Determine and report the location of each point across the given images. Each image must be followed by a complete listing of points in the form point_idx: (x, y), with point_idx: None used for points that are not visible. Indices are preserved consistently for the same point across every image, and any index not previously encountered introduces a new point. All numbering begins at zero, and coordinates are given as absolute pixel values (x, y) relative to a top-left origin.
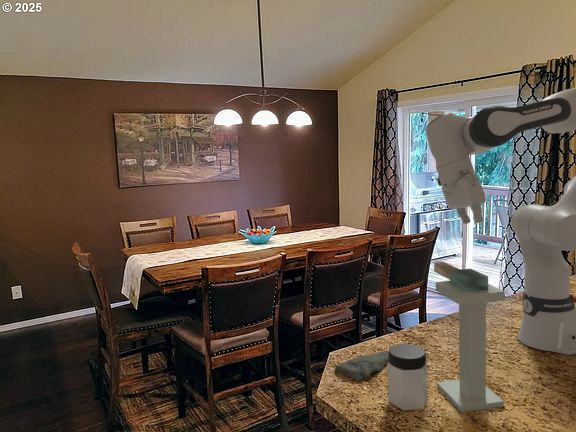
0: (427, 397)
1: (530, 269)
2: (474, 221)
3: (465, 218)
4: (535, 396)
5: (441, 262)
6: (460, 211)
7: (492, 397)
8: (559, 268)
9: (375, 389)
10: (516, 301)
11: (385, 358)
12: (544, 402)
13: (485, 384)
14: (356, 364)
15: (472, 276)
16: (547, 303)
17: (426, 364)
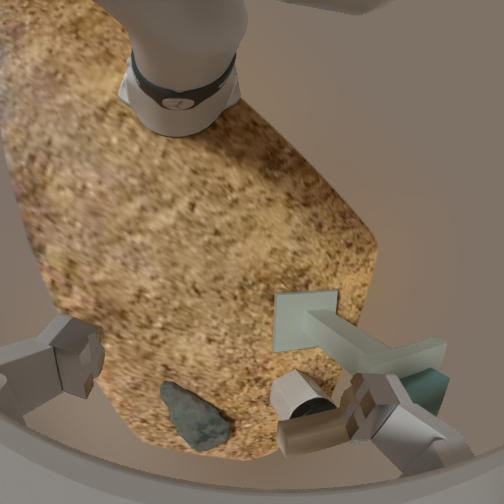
0: (297, 370)
1: (189, 56)
2: (348, 414)
3: (86, 377)
4: (327, 236)
5: (297, 443)
6: (23, 422)
7: (327, 299)
8: (243, 9)
9: (255, 416)
10: (17, 45)
11: (191, 398)
12: (340, 235)
13: (335, 314)
14: (208, 435)
15: (436, 405)
16: (224, 80)
17: (319, 394)
